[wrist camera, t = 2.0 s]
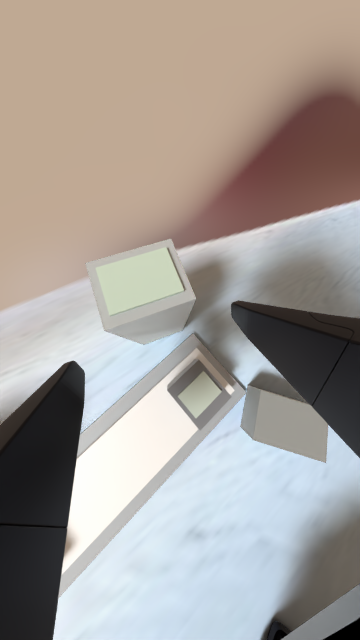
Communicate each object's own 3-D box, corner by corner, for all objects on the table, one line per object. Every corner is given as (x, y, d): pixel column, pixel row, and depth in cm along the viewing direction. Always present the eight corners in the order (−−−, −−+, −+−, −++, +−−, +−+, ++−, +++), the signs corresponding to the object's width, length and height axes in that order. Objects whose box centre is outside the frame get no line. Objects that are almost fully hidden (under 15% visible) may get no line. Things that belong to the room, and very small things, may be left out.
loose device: (303, 401, 18) (328, 410, 15) (299, 444, 17) (326, 462, 14) (246, 384, 18) (261, 390, 15) (239, 425, 17) (253, 439, 14)
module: (182, 330, 19) (197, 297, 8) (143, 344, 18) (102, 330, 7) (171, 301, 20) (170, 236, 9) (133, 314, 19) (83, 261, 8)
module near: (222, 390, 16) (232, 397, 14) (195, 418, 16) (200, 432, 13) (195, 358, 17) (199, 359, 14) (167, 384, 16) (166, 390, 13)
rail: (244, 391, 18) (251, 394, 16) (17, 639, 12) (-2, 674, 11) (192, 333, 19) (194, 332, 18) (-35, 538, 14) (-58, 558, 12)
